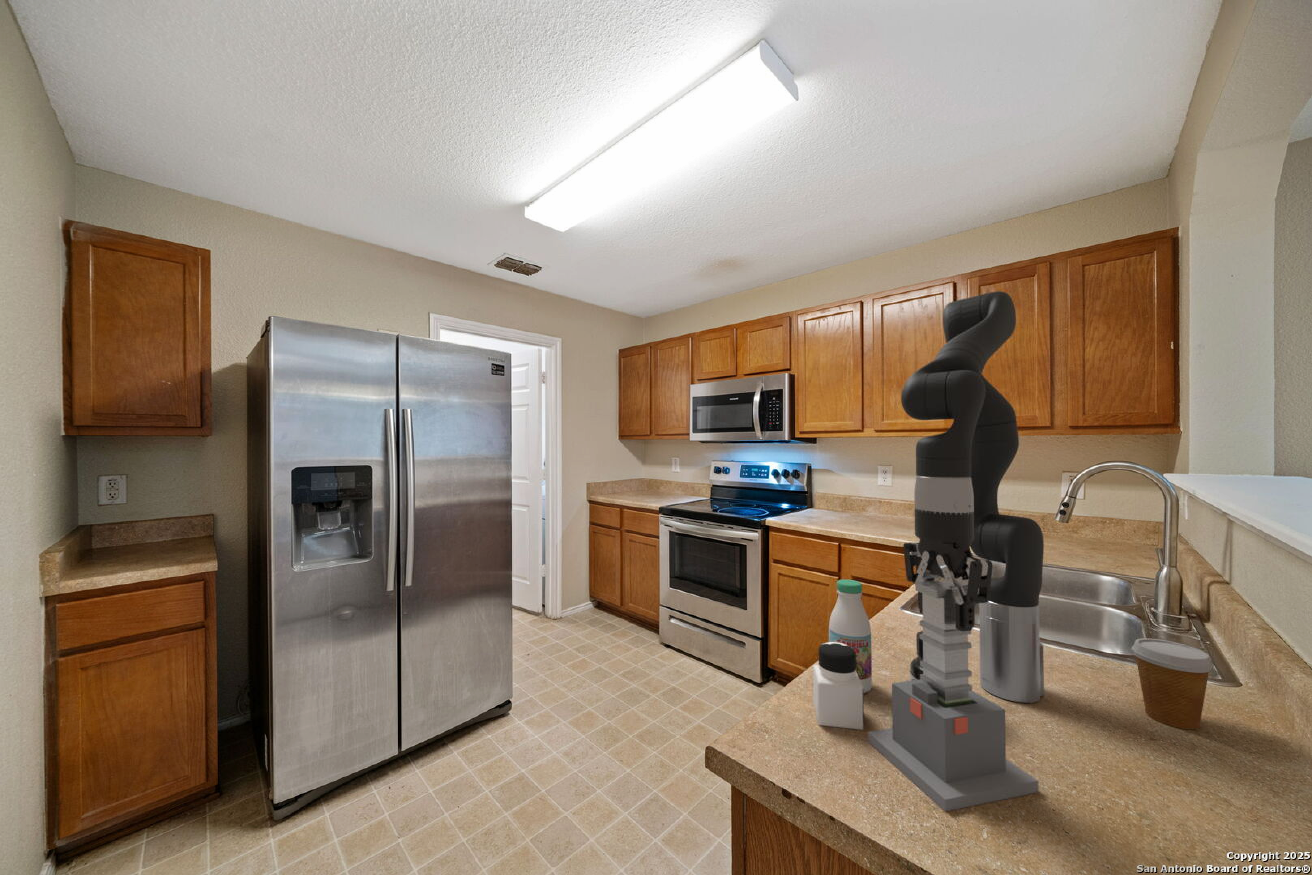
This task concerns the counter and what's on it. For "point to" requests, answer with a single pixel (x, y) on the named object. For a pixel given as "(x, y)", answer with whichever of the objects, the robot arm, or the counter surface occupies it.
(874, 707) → the counter surface
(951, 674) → the column
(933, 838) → the counter surface
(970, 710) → the stand base
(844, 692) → the medicine bottle
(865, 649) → the milk bottle
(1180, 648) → the disposable coffee cup
